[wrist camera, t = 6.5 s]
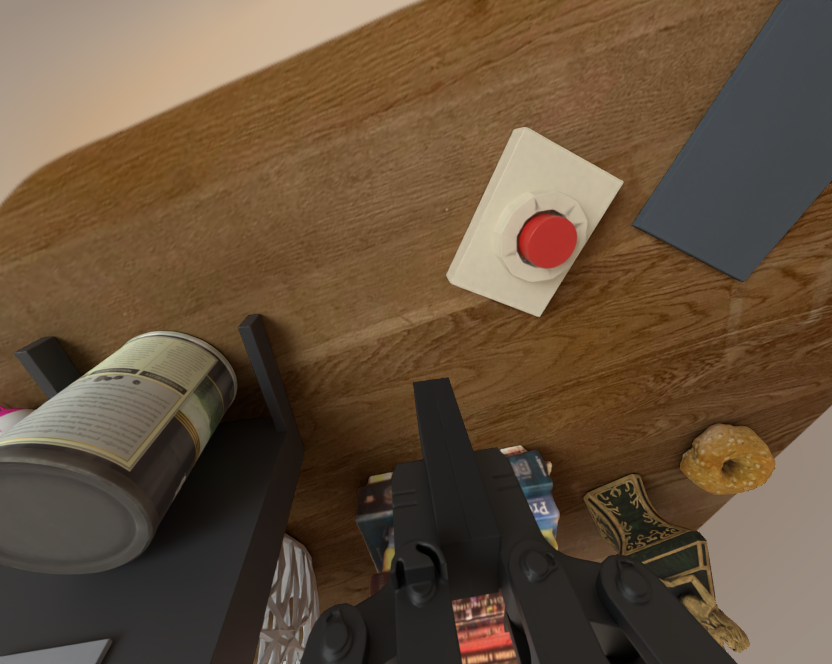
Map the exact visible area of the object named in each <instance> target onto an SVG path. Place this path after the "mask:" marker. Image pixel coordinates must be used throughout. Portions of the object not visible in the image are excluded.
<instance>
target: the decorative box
mask: <svg viewBox="0 0 832 664" xmlns="http://www.w3.org/2000/svg"><path fill="white" fill-rule="evenodd" d="M583 499H584V501H585V503H586V505H587V507H588V510H589V512H590V514H591V516H592V518H593V520H594V523H595V525H596V527H597V529H598V531H599V533H600V536H601V538H602V539H603V540H604V541H605V542H607V543H608V544H609V545H610V546H612V547H613V548H614V549H615V550H616V551H617V552H618V554H621V555H626V556H630V557H632V558H634V559H636V560H638V561H640V562H642V563H643V564H644V565H646V566H647V567H648V568H649V569H650V570H651V571H653V572H654V573H655V574H656V576H657V577H658V578H659V579H660V580H661V581H662V582H663V583H664V584H665V585H666V586H667V588H668V589H669V590H670V591H671V592H672V593H673V594H674V595H675V596H676V597H677V598H678V600H679V601H680V602H681V603H682V604H683V605H684V606H685V607H686V608H687V609H688V610H689V612H690V613H691V614H692V615H693V616H694V617H695V618H696V619H697V620H698V621H699V622H700V624H701V625H702V626H703V627H704V628H705V629H706V630H707V631H708V632H709V633H710V634H711V635H712V637H713V638H714V639H715V640H716V641H717V642H718V643H719V644H720V645H721V646H722V647H723V649H724V650H725V648H724V646H723V644H724V642H725V643H727V644H728V645H729V646H730V648H731V649H732V648H733V651H735V652H742V651H743V650H744V649H747V647H749V645H750V643H749V640H748V637H747V635H746V634H745V632H744V631H743V630H742V629H741V628H740V627H739V626H738V625H737V624H736V623H734V622H733V621H732V620H730V618H728V617H727V616H726V615H725V614H724V613H723V612H722V611H721V610H720V609H719V608H718V606H717V604H716V602H715V592H714V585H713V579H712V572H711V566H710V559H709V553H708V547H707V542H706V540H705V538H704V537H703V536H702V535H701V534H700V533H699V532H698V531H695V530H691V529H688V528H684V527H680V526H677V525H674V524H672V523H670V522H668V521H667V520H666V519H664V518H663V517H662V516H661V515H660V514H659V513H658V512H657V511H656V510H655V508H654V507H653V506H652V504H651V502H650V501H649V498H648V496H647V494H646V491H645V488H644V485H643V482H642V479H641V477H640V475H638V474H630V475H628V476H626V477H623V478H621V479H619V480H616V481H614V482H611V483H609V484H607V485H604V486H602V487H600V488H597V489H595V490H592V491H590V492H588V493H587V494H586V495H585V496H584V498H583ZM725 651H726V650H725Z"/></svg>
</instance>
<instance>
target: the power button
mask: <svg viewBox="0 0 832 664" xmlns="http://www.w3.org/2000/svg"><path fill="white" fill-rule="evenodd" d="M576 243H577V232H576V229H575V227H574V225H573V224H572V222H570V221H569V220H568V219H565V218H563V217H559V216H556V215H553V214H541V215H538V216H536V217H534V218H532V219H531V220H530V221H529V222H528V223H527V224H526V225H525V226H524V228H523V229H522V231H521V234H520V237H519V249H520V252H521V254H522V255H523V257H524V258H525V259H527V260H528V261H530V262H531V263H533V264H534V265H536V266H538V267H540V268H545V269H548V268H554V267H557V266H559V265H561V264H562V263H564V262H565V261H566V260H567V259H568V258H569V257H570V256H571V254H572V253H573V251H574V249H575V247H576Z"/></svg>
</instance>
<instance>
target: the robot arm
mask: <svg viewBox="0 0 832 664" xmlns="http://www.w3.org/2000/svg"><path fill="white" fill-rule="evenodd" d="M413 387H414V395H415V403H416V411H417V420H418V428H419V435H420V441H421V447H422V454H423V460H419V461H413V462H406V463H400V464H396V467H395V469H394V472H393V474H392V477H391V486H392V506H393V528H394V548H395V555H394V557H393V559H392V561H391V568H390V575H391V576H390V578H389V580H388V582H387V583H386V584H385V585H384V586H383V588H382V589H381V590H379V591H378V592H377V593H375V594H374V595H372V596H371V597H369V598H367V599H366V600H364V601H362V602H361V603H359V604H358V605H356V606H352V605H349V604H347V603H345V604H337V605H334V606H332V607H331V608H329V609H327V610H326V611H324V612H323V614H322V615H321V616H320V617H319V618H318V619H317V620H316V622H315V624H314V626H313V628H312V630H311V632H310V634H309V637H308V640H307V643H306V646H305V649H304V652H303V655H302V658H301V662H300V664H463V663H462V658H461V652H460V646H459V640H458V635H457V629H456V623H455V617H454V612H453V606H452V601H453V600H459V599H464V598H470V597H475V596H481V595H487V594H492V593H498V592H499V586H500V590H501V593H502V597H503V600H504V604H505V608H504V631H505V633H507V632H509V633H510V637H511V640H512V644H513V647H514V651H515V655H516V658H517V662H518V664H737V663H736V662H735V661H734V659H733V658H732V657H731V656H730V655H729V654H728V653H727V652H726V651H725V650H724V649H723V647H722V646H721V645H720V644H719V643H718V642H717V641H716V640H715V639H714V638H713V637H712V635H711V634H710V633H709V632H708V631H707V630H706V629H705V628H704V627H703V626H702V625H701V624H700V622H699V621H698V620H697V619H696V618H695V617H694V616H693V615H692V614H691V613H690V612H689V610H688V609H687V608H686V607H685V606H684V605H683V604H682V603H681V602H680V601H679V600H678V598H677V597H676V596H675V595H674V594H673V593H672V592H671V591H670V590H669V589H668V588H667V586H666V585H665V584H664V583H663V582H662V581H661V580H660V579H659V578H658V577H657V576H656V574H655V573H654V572H653V571H651V570H650V569H649V568H648V567H647V566H646V565H644V564H643V563H642V562H640V561H638V560H636V559H634V558H632V557H630V556H626V555H621V554H616V555H612V556H608V557H607V558H606V559H605V560H604V561H603V562H602V563H598V562H593V561H587V560H582V559H577V558H573V557H570V556H567V555H565V554H563V553H561V552H559V551H558V550H556V549H555V548H554V547H553V546H551V545H550V543H549V542H548V541H547V540H546V539H545V538H544V536H543V534H542V532H541V531H540V528H539V526H538V524H537V522H536V519H535V517H534V515H533V513H532V510H531V508H530V506H529V504H528V502H527V499H526V497H525V495H524V493H523V490H522V488H521V487H520V484H519V481H518V479H517V477H516V475H515V472H514V470H513V468H512V466H511V463H510V461H509V459H508V458H507V457H506V456H505V455H504V454H503V453H502V452H501V451H500V450H499V449H498V448H491V449H484V450H478V451H473V449H472V446H471V443H470V440H469V437H468V434H467V431H466V428H465V425H464V422H463V419H462V416H461V413H460V410H459V407H458V405H457V402H456V399H455V396H454V393H453V390H452V387H451V384H450V381H449V378H441V379H433V380H426V381H419V382H413Z"/></svg>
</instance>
